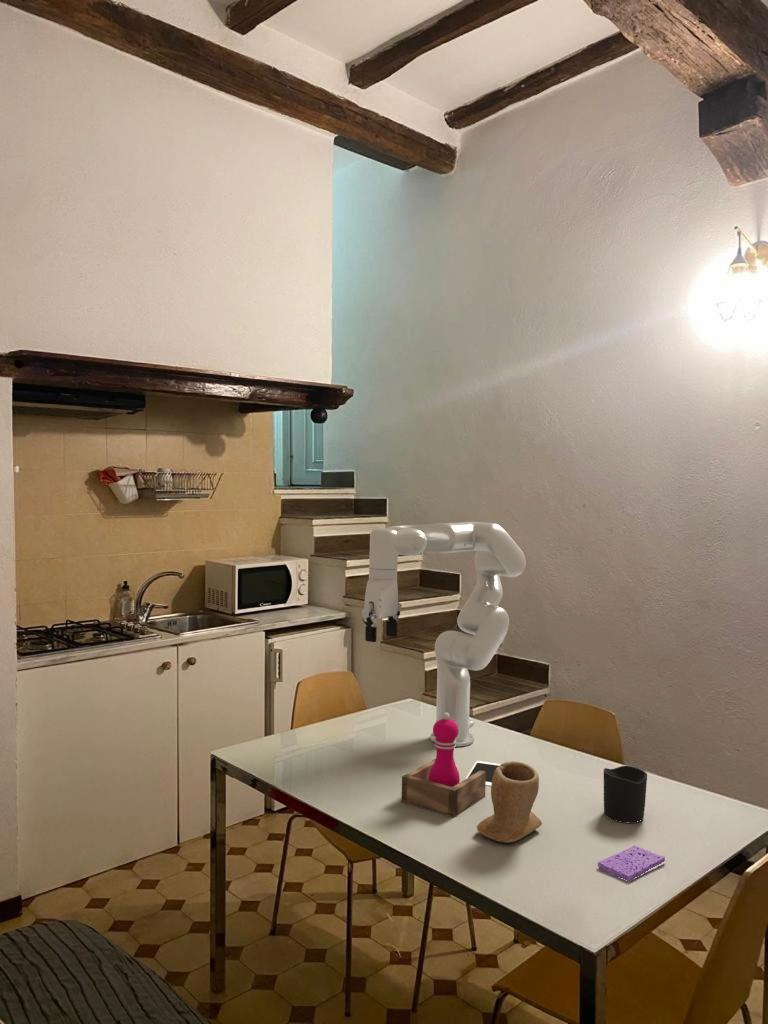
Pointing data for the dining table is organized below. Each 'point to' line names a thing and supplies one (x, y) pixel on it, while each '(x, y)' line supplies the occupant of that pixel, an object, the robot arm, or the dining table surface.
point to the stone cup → (512, 803)
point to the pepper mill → (445, 752)
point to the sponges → (630, 862)
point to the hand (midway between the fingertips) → (381, 638)
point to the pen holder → (625, 793)
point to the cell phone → (486, 767)
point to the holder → (441, 791)
